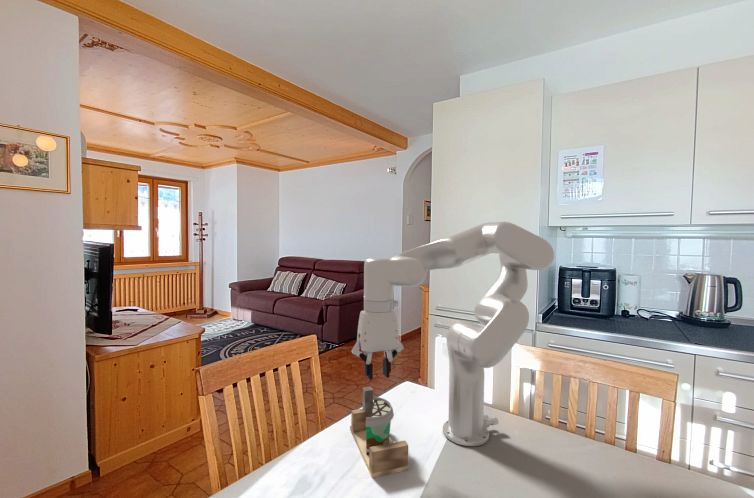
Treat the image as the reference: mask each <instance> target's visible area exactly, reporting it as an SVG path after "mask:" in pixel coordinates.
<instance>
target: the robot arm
mask: <svg viewBox="0 0 754 498" xmlns="http://www.w3.org/2000/svg"><path fill="white" fill-rule="evenodd" d="M554 251H555V250H554V248H553V246H552V244H551V243H550V242H548V241H547V240H546V239H544V238H543V237H541V236H538V235H537V234H534V232H531V231H529V230H527V229H526V228H525V229H524V228H523V227H521V226H519V225H517V224H514V223H512V222H507V221H494V222H484V223H480V224H478V225H476V226H473V227H470V228H468V229H465V230H464V231H461V232H459V233H455V234H453V235H450V236H448V237H444V238H442V239H437V240H435V241H433V242H430V243H427V244H423V245H420V246H417V247H414V248H411V249H409V250H405V251H404V252H402V253H399V254H396V255H394V256H393V257H391V258H389V257H371V258H370V257H369V258H366V259H365V260H364V263H363V265H364V266H363V310H361V311H360V313H359V318H358V325H357V336H356V342H355V344H354V346H353V347H352V348H351V353H352V355H354V356H356V357H359V358H360V359H361V360H362V361H363V362H364V375H365V376H366V377H367V378H368V380H370V381H372V380H373V378H374V377H373V376H374V375H373V373H374V365H373V363H372V356H373V353H378V352H383V354H384V358H383V359H382V374H383V376H384V377H385V378H390V374H391V372H392V371H391V370H392V365H391V363H392V362H393V361H394V358H395V357H396V356H397V355H398V354H399V353H400V352H402V350H404V345H403V343H402V342H401V340H400V338H399V327H398V319H397V313H396V311H395V310H394V309H395V307H397V306H399V300H395V299H394V286H398V287H403V288H405V287H406V288H414V287H417V286H419V285H421V284H423V282H424V281H425V279H426V277H427V272H428V271H429V272H430V271H433V270H442V269H443V270H444V269H445V270H446V269H447V270H448V269H453V268H458V267H461V266H464V265H466V264H469V263H471V262H473V261H475V260H477V259H480V258H482V257H485V256H487V255H489V254H498V257H499V261H500V262H499V263H500V272H499V275H498V277H497V279H496V280H495V282H494V283H493V284H492V285H491V286H490V288H488V290H487V291H486V292H485V293H484V294H483V296H482V297H481V298H480V299H479V300H478V301H477V302H476V305H475V306H474V309H473V314H474V318H475V319H476V320H477V321H478V322H479V323H480V324H482V325H483V326H484V327H483V326H482V325H479V324H478V323H474V322H472V321H470V320H458V321H456V322H454V323H453V324H451V326H450V327H449V328H448V331H447V332H446V333H447V335H446V347H447V353H448V366H449V368H448V370H449V373H448V374H449V375H448V377H449V379H448V420H447V421H445V422H444V423H443V424H442V425H443V426H442V433H443V435H444V436H445V437H446V438H447V439H448V440H449V441H451V442H452V443H454V444H457V445H460V446H463V447H464V446H466V447H478V446H482V445H485V444H486V443H487V442H488V441H489V439H490V431H489V430H488V428H489V427H490V426H497V425H499V419H498V418H497V417H496V416H493V417H489V415H488V414H485V413H484V412H485V409H484V408H485V407H484V406H485V405H484V403H485V369H490V368H493V367H494V366H496V365H498V364H499V363H500V362H501V361H503V359H504V358H505V357H506V356H507V354H509V352H510V351H511V350H512V348H513V347H514V346H515V345H516V344H517V342H518V341H519V340H520V339H521V337H522V336H523V335H524V333H525V332H526V330H527V329H528V325H529V323H530V313H529V311H528V310H529V309H528V308H527V306H526V305H525V304H524V303H523V302H522V301H521V300H522V299H523V297H524V296H525V295H526V292H527V290H528V285H529V284H528V283H529V282H528V274H527V273H528V272H527V270H531V271H542V270H545V269H547V268H549V267H550V265H552V263H553V261H554V257H555V252H554ZM360 350H361V351H360Z"/></svg>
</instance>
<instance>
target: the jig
mask: <svg viewBox="0 0 754 498" xmlns="http://www.w3.org/2000/svg"><path fill="white" fill-rule="evenodd" d="M349 431H350V432H351V435H352V436H353V439H354V441H355V443H356V446H357V449H358V451H359V453H360V455H361V457H362V459H363V461H364V463H365V466H366V468H367V470H368V473H369V475H370V477H371V479H372V478H377V477H382V476H386V475H391V474H396V473H401V472H406V471H408V470H409V444H408V442H407V441H406V440H400V441H395V442H394V441H393V440H392V438H391V436H389V444H384V445H378V446H373V447H369V455H366V429H365V430H359V431H353V430H352V428H351V425H350V426H349Z"/></svg>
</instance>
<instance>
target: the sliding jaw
mask: <svg viewBox="0 0 754 498" xmlns="http://www.w3.org/2000/svg"><path fill="white" fill-rule="evenodd" d="M373 402H374V389H373V387H372V386H363V387H362V408H358V409H352V410H351V415H350V416H351V418H350V419H351V421H350V422H351V423H350V424H351V425H350V426H351V428H352V430H353V431H359V430H365V429H366V417H368V416H369V413H370V409H371V407H372V405H373Z"/></svg>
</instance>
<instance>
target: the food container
mask: <svg viewBox="0 0 754 498" xmlns="http://www.w3.org/2000/svg"><path fill="white" fill-rule="evenodd" d="M393 418H394V409H393V405H392V404H391V402H390V401H389V400H387V399H385V398H383V397H379V396H373V405H372V407H371V409H370V413H369V416H368V417H366V455H369V447H373V446H378V445H384V444H389V436H390V433H391V424H392V423H391V421H392V420H393ZM390 437H391V436H390Z"/></svg>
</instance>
